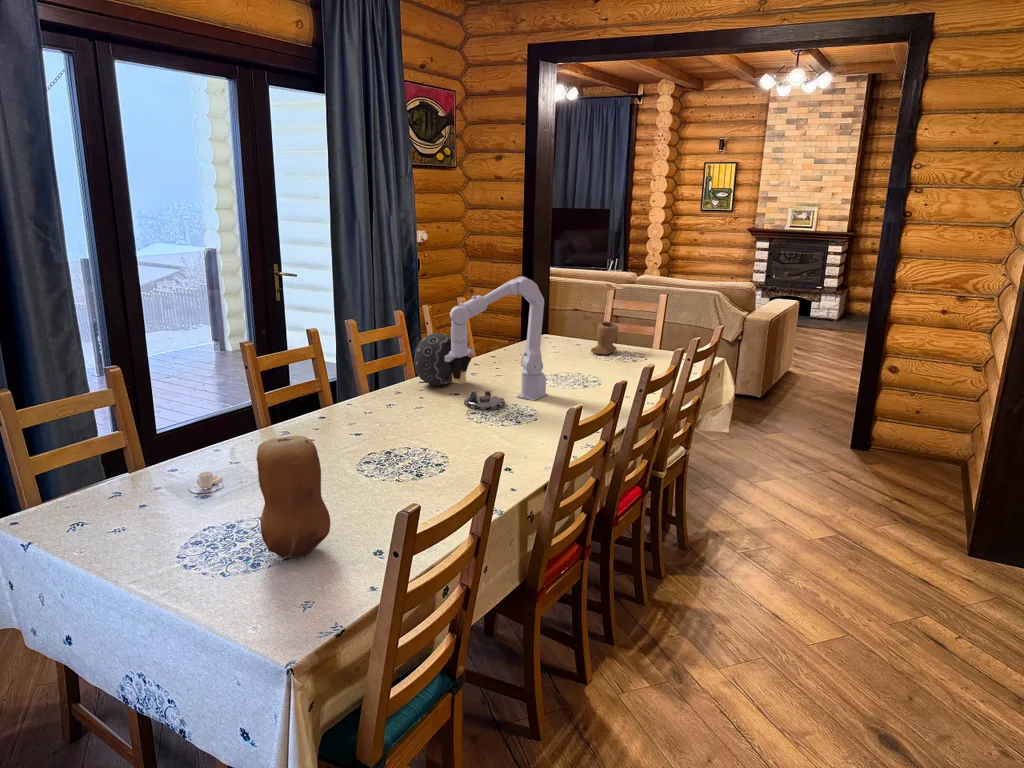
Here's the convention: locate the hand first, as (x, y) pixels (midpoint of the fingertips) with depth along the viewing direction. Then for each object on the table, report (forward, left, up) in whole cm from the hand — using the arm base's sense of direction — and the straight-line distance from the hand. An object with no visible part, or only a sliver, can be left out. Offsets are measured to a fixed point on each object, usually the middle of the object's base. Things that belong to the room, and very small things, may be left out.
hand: (459, 377), depth 248 cm
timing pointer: (-8, +6, -8) cm, 14 cm away
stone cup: (-104, +5, -9) cm, 105 cm away
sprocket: (-1, +11, -8) cm, 14 cm away
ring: (-11, -20, -9) cm, 24 cm away
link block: (0, 0, -2) cm, 2 cm away
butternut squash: (+107, +43, -9) cm, 115 cm away
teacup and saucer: (+96, +1, -9) cm, 97 cm away
